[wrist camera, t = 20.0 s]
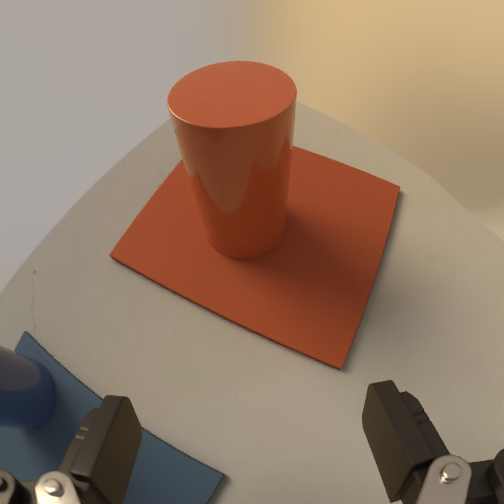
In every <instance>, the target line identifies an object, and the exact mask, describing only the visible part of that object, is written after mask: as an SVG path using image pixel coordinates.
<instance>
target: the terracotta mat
mask: <svg viewBox="0 0 504 504" xmlns="http://www.w3.org/2000/svg"><path fill="white" fill-rule="evenodd" d="M399 190H400V186H397V185H395V184H393V183H390V182H388V181H386V180H383V179H381V178H378V177H376V176H374V175H371V174H369V173H366V172H364V171H361V170H359V169H356V168H353V167H351V166H348V165H346V164H343V163H340V162H338V161H335V160H332V159H329V158H327V157H324V156H321V155H318V154H315V153H312V152H310V151H307V150H304V149H301V148H298V147H295V146H293V148H292V160H291V172H290V183H289V194H288V205H287V215H286V226H285V232H284V235H283V237H282V239H281V241H280V242H279V243H278V245H277V246H276V247H275V248H274V249H272V250H271V251H270V252H268V253H266V254H265V255H263V256H260V257H257V258H253V259H234V258H230V257H227V256H225V255H223V254H221V253H219V252H218V251H216V250H215V249H214V248H213V247H212V246H211V244H210V243H209V242H208V240H207V238H206V235H205V232H204V229H203V225H202V222H201V219H200V216H199V212H198V209H197V206H196V203H195V199H194V196H193V193H192V189H191V186H190V183H189V179H188V176H187V172H186V169H185V166H184V162H183V159H182V160H181V161H180V163H179V164H178V165H177V166H176V167H175V169H174V170H173V171H172V172H171V173H170V175H169V176H168V177H167V178H166V180H165V181H164V182H163V183H162V185H161V186H160V187H159V188H158V190H157V191H156V192H155V193H154V195H153V196H152V197H151V199H150V200H149V201H148V202H147V204H146V205H145V206H144V208H143V209H142V210H141V212H140V213H139V214H138V216H137V217H136V218H135V220H134V221H133V222H132V224H131V225H130V226H129V228H128V229H127V231H126V232H125V233H124V235H123V236H122V238H121V239H120V240H119V242H118V243H117V245H116V246H115V248H114V249H113V250H112V252H111V253H110V257H111V258H113V259H115V260H116V261H118V262H120V263H122V264H123V265H125V266H127V267H129V268H130V269H132V270H134V271H136V272H138V273H139V274H141V275H143V276H145V277H147V278H148V279H150V280H152V281H154V282H156V283H158V284H159V285H161V286H163V287H165V288H167V289H169V290H171V291H172V292H174V293H176V294H178V295H180V296H182V297H184V298H186V299H188V300H190V301H192V302H194V303H195V304H197V305H199V306H201V307H203V308H205V309H207V310H209V311H211V312H213V313H215V314H217V315H219V316H221V317H223V318H225V319H227V320H229V321H232V322H234V323H236V324H238V325H240V326H242V327H244V328H246V329H248V330H250V331H252V332H255V333H257V334H259V335H261V336H263V337H265V338H267V339H270V340H272V341H274V342H276V343H278V344H281V345H283V346H285V347H287V348H290V349H292V350H294V351H296V352H299V353H301V354H303V355H306V356H308V357H310V358H313V359H315V360H317V361H320V362H322V363H324V364H327V365H329V366H332V367H334V368H336V369H339V370H340V369H341V368H342V366H343V364H344V361H345V359H346V356H347V354H348V351H349V349H350V346H351V344H352V341H353V339H354V336H355V334H356V331H357V328H358V326H359V323H360V320H361V318H362V315H363V312H364V309H365V306H366V304H367V301H368V298H369V295H370V292H371V289H372V286H373V283H374V280H375V277H376V274H377V270H378V267H379V264H380V261H381V257H382V254H383V251H384V247H385V244H386V240H387V237H388V233H389V229H390V226H391V222H392V218H393V214H394V210H395V206H396V202H397V198H398V194H399Z"/></svg>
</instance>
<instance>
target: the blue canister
mask: <svg viewBox="0 0 504 504" xmlns="http://www.w3.org/2000/svg"><path fill="white" fill-rule="evenodd" d="M55 399H56V398H55V388H54V384H53V380H52V378H51V375H50V373H49V372H48V370H47V369H46V367H45V366H44V365H43V364H42V363H41V362H40V361H38V360H37V359H34V358H32V357H29V356H26V355H24V354H21V353H18V352H16V351H13V350H11V349H8V348H5V347H3V346H1V345H0V427H3V428H15V429H31V430H35V429H40V428H42V427H43V426H45V425H46V424H47V423H48V422H49V420H50V419H51V417H52V415H53V412H54V408H55Z"/></svg>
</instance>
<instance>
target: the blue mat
mask: <svg viewBox="0 0 504 504" xmlns="http://www.w3.org/2000/svg"><path fill="white" fill-rule="evenodd" d="M14 351H16V352H18V353H21V354H24V355H26V356H29V357H32V358H34V359H37V360H38V361H40V362H41V363H42V364H43V365H44V366H45V367H46V369H47V370H48V372H49V373H50V375H51V378H52V380H53V384H54V388H55V398H56V399H55V408H54V412H53V415H52V417H51V419H50V420H49V422H48V423H47V424H46V425H45V426H43V427H42V428H40V429H35V430H31V429H15V428H3V427H0V469H5V470H8V471H9V472H11V474H12V475H13V476H14V477H15V478H16V479H17V480H30V481H38V479H39V478H40V477H41V476H42V475H44V474H45V473H48V472H52V471H57V469H58V468H59V466H60V464H61V462H62V459H63V457H64V455H65V453H66V451H67V449H68V447H69V445H70V443H71V441H72V439H73V438H75V437H74V435H75V433H76V431H77V430H79V426H80V424H81V422H82V420H83V418H84V416H85V415H87V414H88V413H89V412H90V411H91V410H92V409H93V408H99V407H100V405H101V403H102V401H103V399H102V398H101V397H99V396H98V395H97V394H95V393H94V392H93V391H92V390H90V389H89V388H88V387H87V386H85V385H84V384H83V383H82V382H81V381H79V380H78V379H77V378H76V377H75V376H74V375H72V374H71V373H70V372H69V371H68V370H67V369H66V368H64V367H63V366H62V365H61V364H60V363H59V362H58V361H57V360H56V359H54V358H53V357H52V356H51V355H50V354H49V353H48V352H47V351H46V350H45V349H44V348H43V347H42V346H41V345H40V344H39V343H38V342H37V341H36V340H35V339H34V338H33V337H32V336H31V335H30V334H29V333H28V332H26V331H24V333H23V335H22V337H21V339H20V341H19V342H18V344H17V346H16V348H15V350H14ZM141 428H142V427H141ZM223 476H224V474H223V473H221V472H219V471H217V470H215V469H213V468H211V467H209V466H207V465H205V464H203V463H201V462H200V461H198V460H196V459H194V458H192V457H190V456H189V455H187V454H185V453H183V452H181V451H180V450H178V449H176V448H175V447H173V446H171V445H169V444H168V443H166V442H164V441H163V440H161V439H160V438H158V437H156V436H155V435H153V434H152V433H150V432H149V431H147V430H145V429H144V428H142V441H141V445H140V448H139V451H138V454H137V458H136V461H135V464H134V467H133V471H132V474H131V477H130V481H129V484H128V488H127V491H126V495H125V498H124V502H123V504H206V503H207V502H208V500H209V499H210V497H211V495H212V494H213V492H214V491H215V489H216V487H217V486H218V484H219V482H220V481H221V479H222V477H223Z"/></svg>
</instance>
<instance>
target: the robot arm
mask: <svg viewBox="0 0 504 504" xmlns="http://www.w3.org/2000/svg"><path fill="white" fill-rule="evenodd" d="M362 424H363V429H364V432H365V435H366V437H367V440H368V443H369V445H370V448H371V451H372V453H373V456H374V459H375V461H376V464H377V467H378V470H379V472H380V475H381V478H382V481H383V483H384V486H385V489H386V492H387V495H388V498H389V500H390V503H392V502H395V501H399V500H401V501H402V503H403V504H504V449H502V450H501V451H500V452H499V453H498V454H497V455H496V457H495V458H494V459H493V460H487V461H480V462H472V463H468V462H467V461H466V460H465V459H463V458H461V457H459V456H456V455H451V454H450V453H449V451H448V450H447V448H446V446H445V444H444V443H443V441H442V439H441V437H440V436H439V434H438V432H437V431H436V429H435V427H434V425H433V424H432V422H431V421H430V420H429V417H428V415H427V414H426V412H424V409H423V407H422V405H421V404H420V402H419V401H418V399H417V398H415V397H414V396H413V395H411V394H410V393H408V392H407V391H405V392H401V393H400V392H399V391H398V389H397V387H396V385H395V384H394V382H393V381H392V380H387V381H382V382H377V383H372V384H369V386H368V390H367V395H366V400H365V404H364V409H363V414H362ZM74 437H75V438H73V439H72V441H71V443H70V445H69V447H68V449H67V451H66V453H65V455H64V457H63V459H62V462H61V464H60V466H59V468H58V469H57V471H52V472H48V473H45V474H44V475H42V476H41V477H40V478H39V479H38V481H30V480H17V479H16V478H15V477H14V476H13V475H12V474H11V472H9V471H8V470H5V469H0V504H123V502H124V498H125V495H126V491H127V488H128V484H129V481H130V477H131V474H132V471H133V467H134V464H135V461H136V458H137V454H138V451H139V448H140V445H141V441H142V428H141V425H140V422H139V420H138V418H137V416H136V413H135V411H134V408H133V406H132V404H131V401H130V399H129V398H128V397H124V396H113V395H107V396H105V398H104V399H103V401H102V403H101V405H100V407H99V408H93V409H92V410H91V411H90V412H89V413H88V414H87V415H85V416H84V418H83V420H82V422H81V424H80V426H79V430H77V431H76V433H75V435H74Z"/></svg>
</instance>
